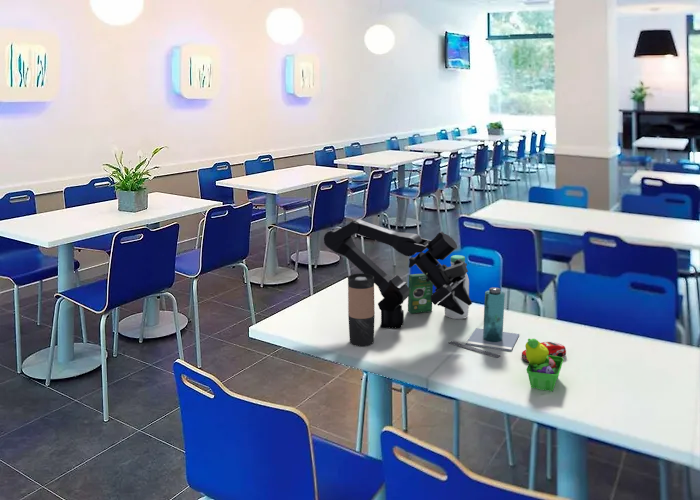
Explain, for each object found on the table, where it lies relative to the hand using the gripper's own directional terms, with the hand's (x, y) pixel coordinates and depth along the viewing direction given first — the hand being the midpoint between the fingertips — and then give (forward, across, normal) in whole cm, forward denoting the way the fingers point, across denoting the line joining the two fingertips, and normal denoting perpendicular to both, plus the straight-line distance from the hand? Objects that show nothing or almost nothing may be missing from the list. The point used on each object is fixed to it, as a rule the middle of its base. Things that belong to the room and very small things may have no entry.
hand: (467, 309), depth 182 cm
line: (+9, -9, +3) cm, 13 cm away
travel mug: (-13, -16, +26) cm, 33 cm away
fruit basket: (+24, -23, -12) cm, 35 cm away
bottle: (+11, 0, 0) cm, 11 cm away
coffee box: (-7, +16, +20) cm, 26 cm away
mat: (+12, 0, 0) cm, 12 cm away
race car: (+23, -7, -10) cm, 26 cm away
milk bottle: (+1, +16, +11) cm, 20 cm away
